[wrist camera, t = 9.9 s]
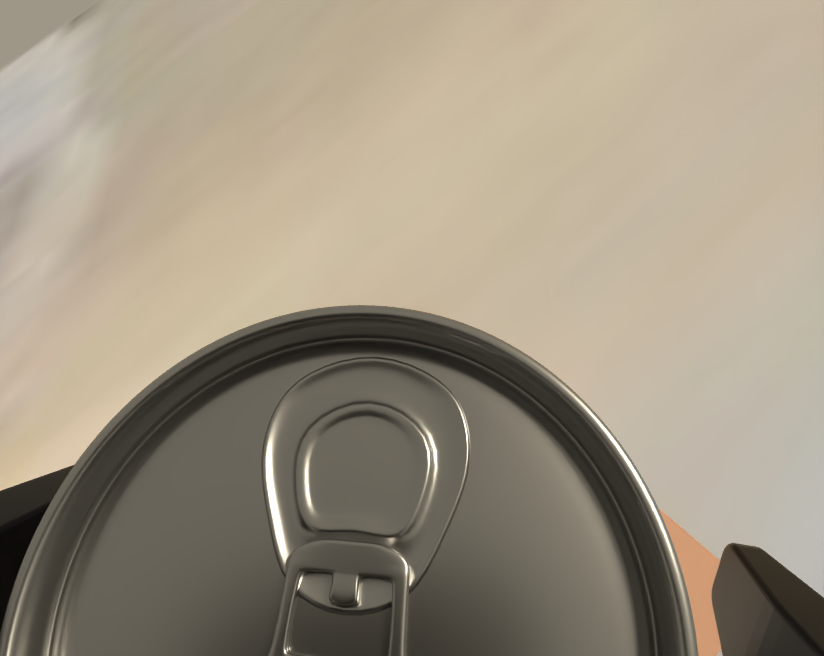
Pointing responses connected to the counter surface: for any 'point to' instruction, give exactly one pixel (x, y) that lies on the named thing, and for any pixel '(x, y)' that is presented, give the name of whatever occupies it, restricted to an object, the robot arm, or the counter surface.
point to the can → (352, 509)
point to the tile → (697, 585)
